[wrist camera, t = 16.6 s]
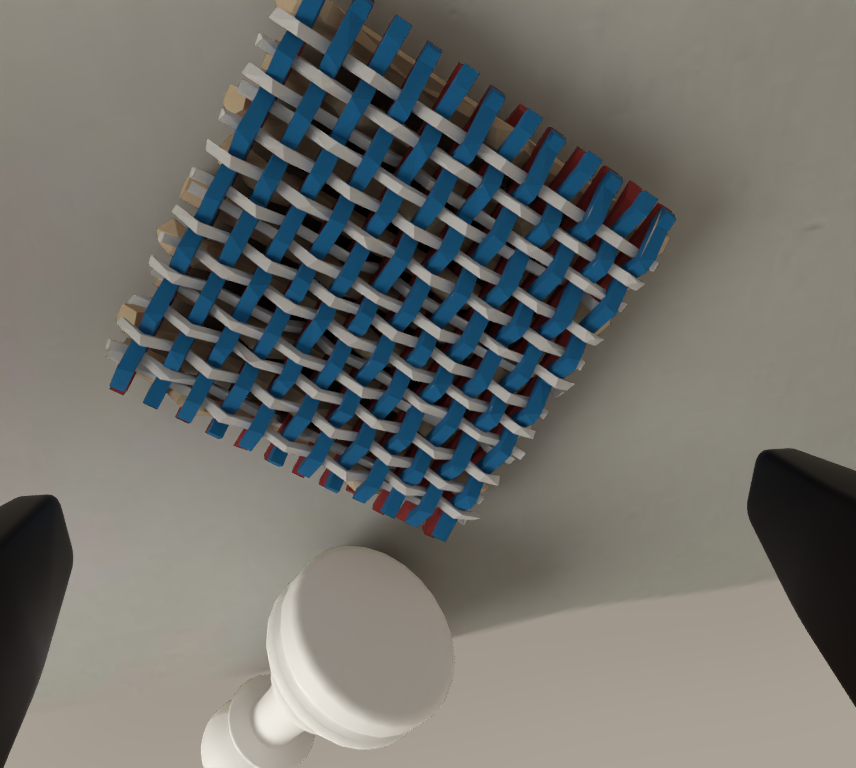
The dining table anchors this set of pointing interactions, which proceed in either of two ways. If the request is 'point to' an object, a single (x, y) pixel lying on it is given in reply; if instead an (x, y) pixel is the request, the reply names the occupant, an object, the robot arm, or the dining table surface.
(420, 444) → the woven mat
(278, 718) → the chess pawn
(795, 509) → the robot arm
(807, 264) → the dining table surface
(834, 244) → the dining table surface
